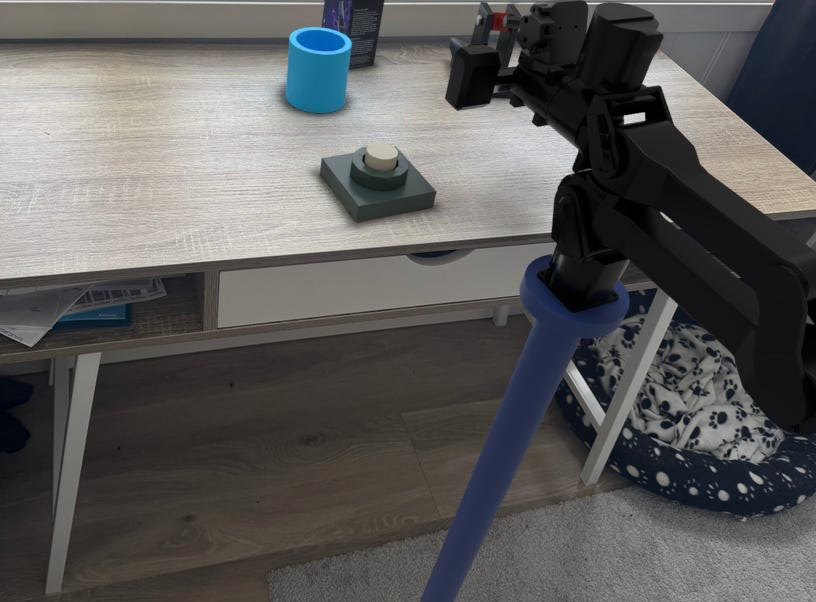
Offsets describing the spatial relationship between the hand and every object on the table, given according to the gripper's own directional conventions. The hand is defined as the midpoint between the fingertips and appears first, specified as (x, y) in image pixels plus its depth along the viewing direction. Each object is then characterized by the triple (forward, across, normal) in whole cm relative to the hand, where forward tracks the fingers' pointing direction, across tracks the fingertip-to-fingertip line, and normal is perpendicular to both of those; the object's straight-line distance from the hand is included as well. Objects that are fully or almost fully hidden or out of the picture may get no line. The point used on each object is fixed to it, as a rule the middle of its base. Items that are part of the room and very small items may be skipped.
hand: (485, 38), depth 84 cm
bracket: (+17, -15, +15) cm, 27 cm away
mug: (+20, +12, +15) cm, 28 cm away
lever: (+12, -13, +6) cm, 19 cm away
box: (+29, +2, +15) cm, 33 cm away
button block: (-4, +14, +15) cm, 21 cm away
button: (-4, +14, +12) cm, 19 cm away
